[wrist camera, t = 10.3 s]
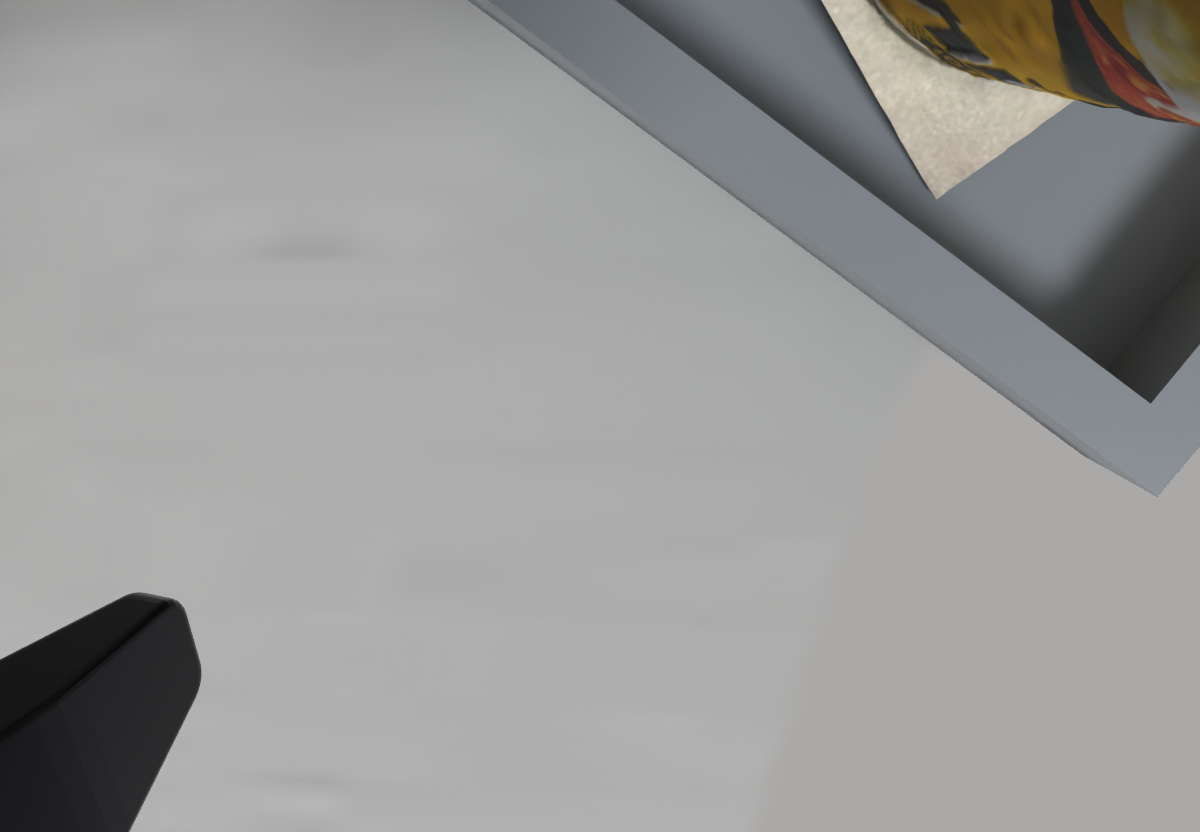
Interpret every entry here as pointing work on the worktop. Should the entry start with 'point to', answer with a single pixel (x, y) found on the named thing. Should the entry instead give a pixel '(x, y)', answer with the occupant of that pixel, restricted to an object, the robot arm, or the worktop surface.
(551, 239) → the worktop surface
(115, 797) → the robot arm
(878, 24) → the condiment
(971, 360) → the grey shallow square tray
